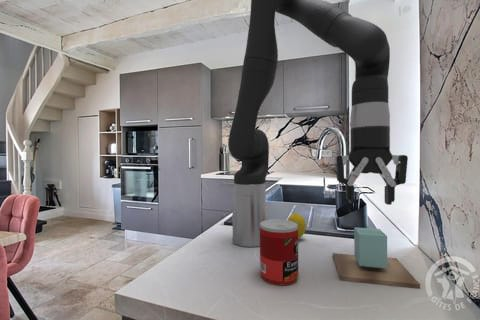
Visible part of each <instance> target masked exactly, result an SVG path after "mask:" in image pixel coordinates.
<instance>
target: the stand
mask: <svg viewBox="0 0 480 320" xmlns="http://www.w3.org/2000/svg"><path fill="white" fill-rule="evenodd" d="M332 259H333V261H334V262H333V263H334V265H335V268H336V271H337V275H338V277H339V281H344V282H345V281H346V282H353V283H364V284H372V285H373V284H375V285H383V286H394V287H402V288H403V287H404V288H411V289H413V288H414V289H421V283H420V282H419V281H418V280H417V279H416V278H415V277H414V276H413V274H412V273H411V272H410V271H409V270H407V268H406V267H405V266H404V264H402V263H401V261H399V260H398V259H397V258H396V257H388V256H387V268H378V267H366V266H359V264H358V262H357V260H356V258H355V256H354V254H347V253H336V252H332Z"/></svg>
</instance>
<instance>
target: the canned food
mask: <svg viewBox="0 0 480 320" xmlns="http://www.w3.org/2000/svg"><path fill="white" fill-rule="evenodd" d="M259 266H260V267H259V270H260V271H259V272H260V275H261V278H262V279H263V280H264V281H265V282H267V283H269V284H272V285H276V286H287V285H288V286H289V285H292V284H294V283H296V282H297V280H298V278H299V238H298V225H297V224H296V223H295V222H292V221H289V220H288V219H277V218H275V219H273V218H272V219H266V220H265V221H262V222H261V223H260V246H259Z"/></svg>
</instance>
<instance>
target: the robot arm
mask: <svg viewBox="0 0 480 320" xmlns="http://www.w3.org/2000/svg"><path fill="white" fill-rule="evenodd" d="M276 13H278V14H280V15H283V16H285V17H287V18H290V19H292V20H294V21H296V22H297V23H299V24H300V25H302V26H303V27H304V28H305V29H307V30H308V31H309V32H311V34H314V35H315V36H317V38H320V40H322V41H323V42H325V43H327V44H328V45H330V46H331V47H333V48H338V49H339V50H341V51H342V52H344V54H346V55H347V56H348V57H349V58H351V59H352V60H353V62H354V66H355V70H354V71H355V73H354V74H355V75H354V78H355V80H354V81H353V83H352V86H351V111H350V115H349V116H350V117H349V118H350V119H349V120H350V121H349V127H350V128H349V129H350V130H349V133H350V134H349V135H350V140H349V141H350V151H349V153H348V154H347V155H336V156H334V159H335V171H336V181H337V182H338V183H340V184H343V185H345V198H346V200H347V201H348V202H349V203H350V204H355V186H354V184H355V183H356V180H357V179H358V178H359V176H360V175H361V174H370V173H371V174H378V175H379V176H380V178H382V180H383V182H384V184H385V186H384V204H386V205H388V206H389V205H392V203H394V202H395V193H396V192H395V190H396V189H395V188H396V187H397V186H399V185H404V184H406V182H407V181H406V180H407V172H408V158H409V157H408V156H407V155H405V154H400V155H399V154H398V155H397V154H395V155H394V154H392V152H391V150H390V149H391V136H390V135H391V115H390V114H391V112H390V105H389V81H388V78H389V77H388V76H389V71H390V70H389V69H390V62H391V61H390V57H391V49H390V44H389V40H388V37H387V33H385V31H384V30H383V29H382V28H380V27H379V26H378V25H377V24H375V23H372V22H371V21H367V20H365V19H362V18H359V17H356V16H353V15H351V13H349V12H347V11H346V10H344V9H342V8H340V7H339V6H337V5H335V4H333V3H332V2H330V1H327V0H250V14H249V23H248V31H247V32H248V33H247V39H246V46H245V47H246V48H245V53H244V59H243V64H242V71H241V78H240V83H239V85H240V86H239V90H238V95H237V96H238V97H237V101H236V106H235V110H234V115H233V117H232V118H233V119H232V122H231V127H230V130H229V135H228V141H227V145H228V151H229V155H230V156H231V157H232V158H234V159H235V160H239V161H242V162H241V163H242V164H241V167H240V168H239V170H238V171H236V172H235V173H234V175H233V193H234V194H233V200H234V202H233V205H234V207H233V208H234V209H233V210H232V214H231V217H232V244H235V245H238V246H241V247H247V248H252V247H260V223H261V222H262V221H265V220H267V197H266V195H267V192H266V191H267V189H266V187H267V186H266V182H267V180H266V178H267V175H268V173H269V161H270V160H269V158H270V157H269V156H270V153H269V152H270V151H269V150H270V149H269V148H270V147H269V146H270V145H269V138H268V136H267V134H266V133H265V132H264V131H263V130H261V129H259V128H258V129H257V128H256V125H257V121H258V115H259V112H260V109H261V107H262V104H263V103H264V101H265V100H266V98H267V96H268V95H269V93H270V91H271V89H272V87H273V85H274V83H275V78H276V74H277V73H276V72H277V67H278V63H279V62H278V61H279V60H278V59H279V50H278V41H277V37H276V36H277V35H276V27H275V24H276V23H275V22H276V21H275V19H276V18H275V16H276ZM347 161H349V162H350V163H351V164H352V166H353V167H352V169H351V170H350V172H349V175H348V177H347V178H346V177H345V173H344V172H345V170H344V166H345V165H346V164H347ZM392 161H393V164H394V166H395V173H394V178H393V177H392V174H391V172H390V171H389V169H388V167H387V166H388V165H389V164H390V162H392Z"/></svg>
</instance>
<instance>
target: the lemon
mask: <svg viewBox="0 0 480 320" xmlns="http://www.w3.org/2000/svg"><path fill="white" fill-rule="evenodd" d="M287 220H289V221H292V222H295V223H296V224H297V225H298V239H299V238H301V237H303V236H304V234H305V232H306V227H307V226H306V221H305V218H304V217H303V216H302V215H301V214H300V213H298V212H294V213H293V214H290V215H289V217H288V218H287Z"/></svg>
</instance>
